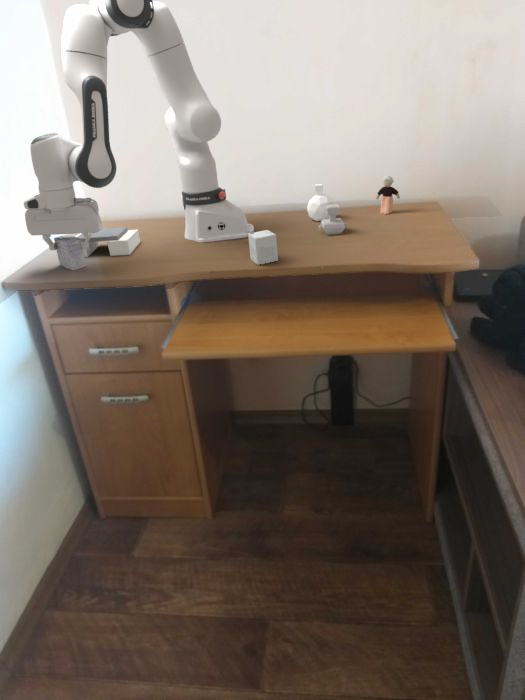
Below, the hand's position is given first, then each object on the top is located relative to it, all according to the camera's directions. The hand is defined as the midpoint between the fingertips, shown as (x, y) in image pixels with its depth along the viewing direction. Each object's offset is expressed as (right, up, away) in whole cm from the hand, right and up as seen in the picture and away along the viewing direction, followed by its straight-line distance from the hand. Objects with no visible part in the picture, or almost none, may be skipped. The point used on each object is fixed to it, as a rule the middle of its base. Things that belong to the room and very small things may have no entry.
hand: (70, 249), depth 148 cm
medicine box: (0, -5, +3) cm, 6 cm away
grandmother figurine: (+96, +16, +27) cm, 101 cm away
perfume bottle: (+74, +14, +26) cm, 79 cm away
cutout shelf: (+6, +2, +14) cm, 15 cm away
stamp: (+76, +7, +12) cm, 77 cm away
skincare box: (+55, -4, -5) cm, 55 cm away
